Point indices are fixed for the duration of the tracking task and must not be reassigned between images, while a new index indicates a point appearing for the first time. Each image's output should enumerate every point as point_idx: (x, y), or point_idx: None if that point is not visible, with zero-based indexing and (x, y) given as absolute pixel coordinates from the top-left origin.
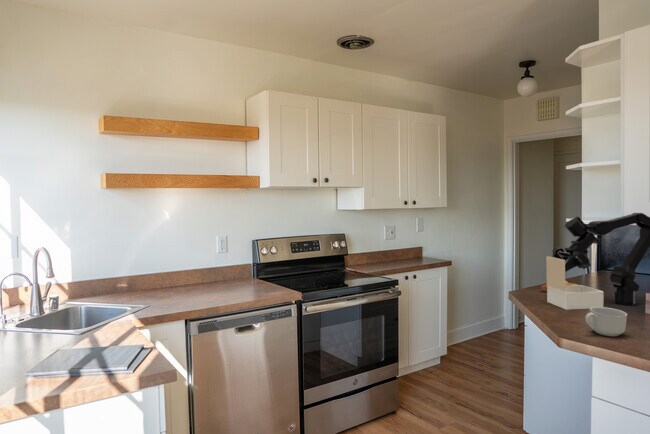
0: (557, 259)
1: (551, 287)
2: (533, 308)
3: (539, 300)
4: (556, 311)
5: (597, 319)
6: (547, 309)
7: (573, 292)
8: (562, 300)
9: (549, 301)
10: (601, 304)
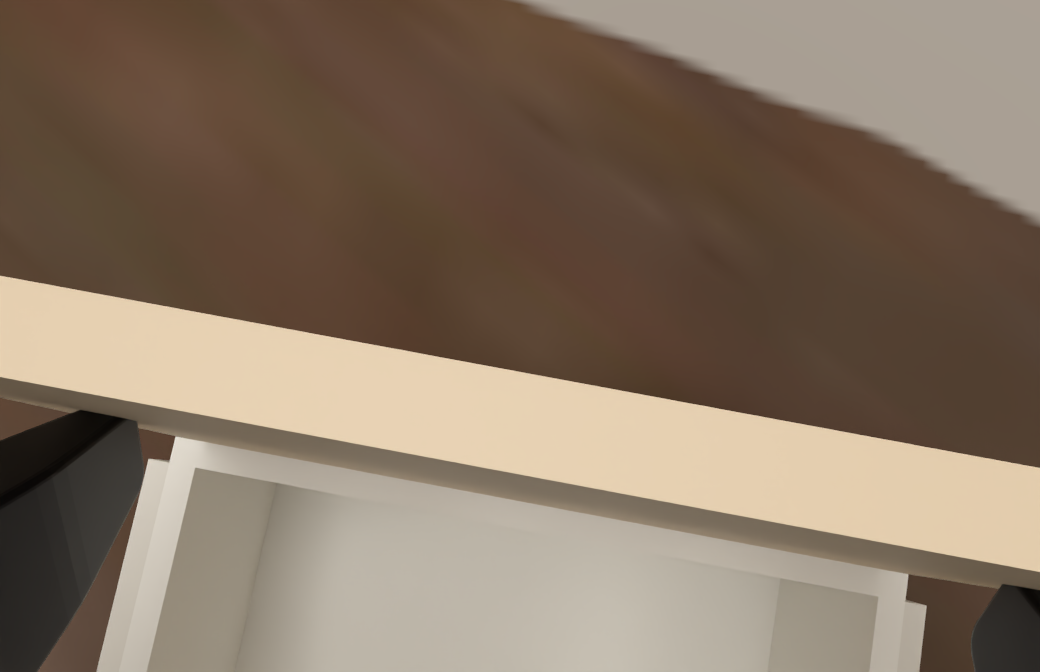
0: (255, 330)
1: (752, 559)
2: (486, 53)
3: None
4: (230, 236)
5: None
6: (371, 198)
7: (139, 609)
8: None
9: None
10: None
